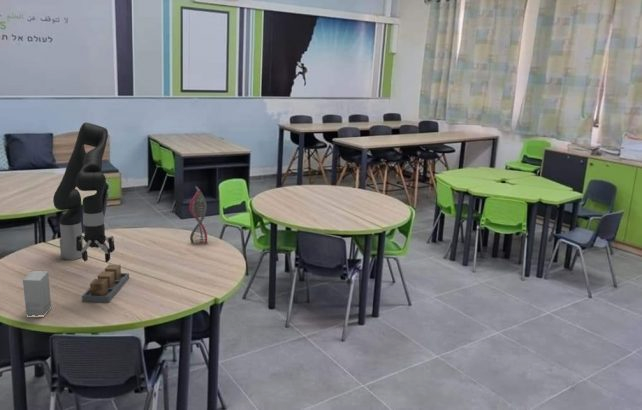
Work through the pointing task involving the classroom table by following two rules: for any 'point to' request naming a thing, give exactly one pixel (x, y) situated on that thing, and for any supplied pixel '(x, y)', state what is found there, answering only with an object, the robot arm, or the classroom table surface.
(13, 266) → the classroom table surface
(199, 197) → the dna model
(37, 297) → the skincare box
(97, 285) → the block
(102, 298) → the tray
